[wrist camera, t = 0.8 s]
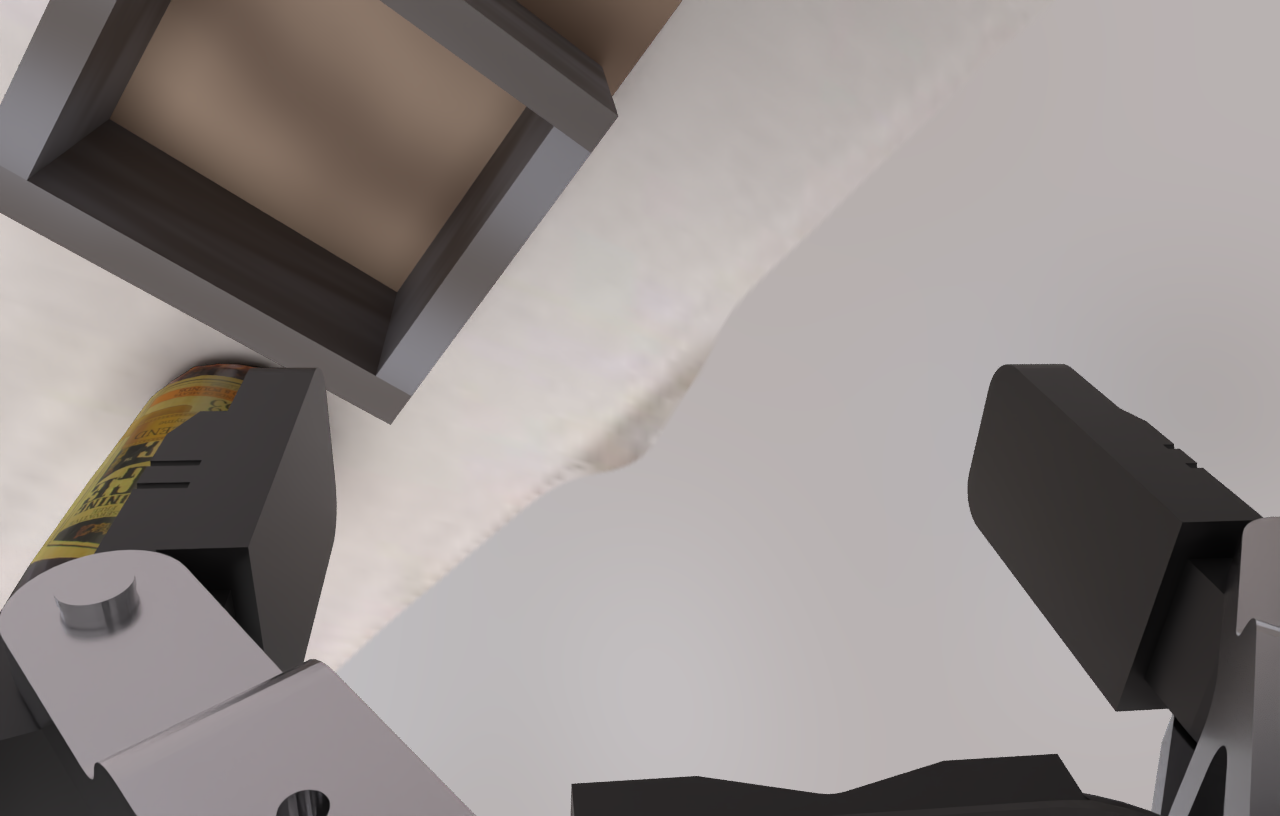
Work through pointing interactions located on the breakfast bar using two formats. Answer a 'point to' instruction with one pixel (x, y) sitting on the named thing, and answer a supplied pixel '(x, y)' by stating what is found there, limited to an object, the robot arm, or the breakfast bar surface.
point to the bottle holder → (313, 159)
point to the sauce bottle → (134, 462)
